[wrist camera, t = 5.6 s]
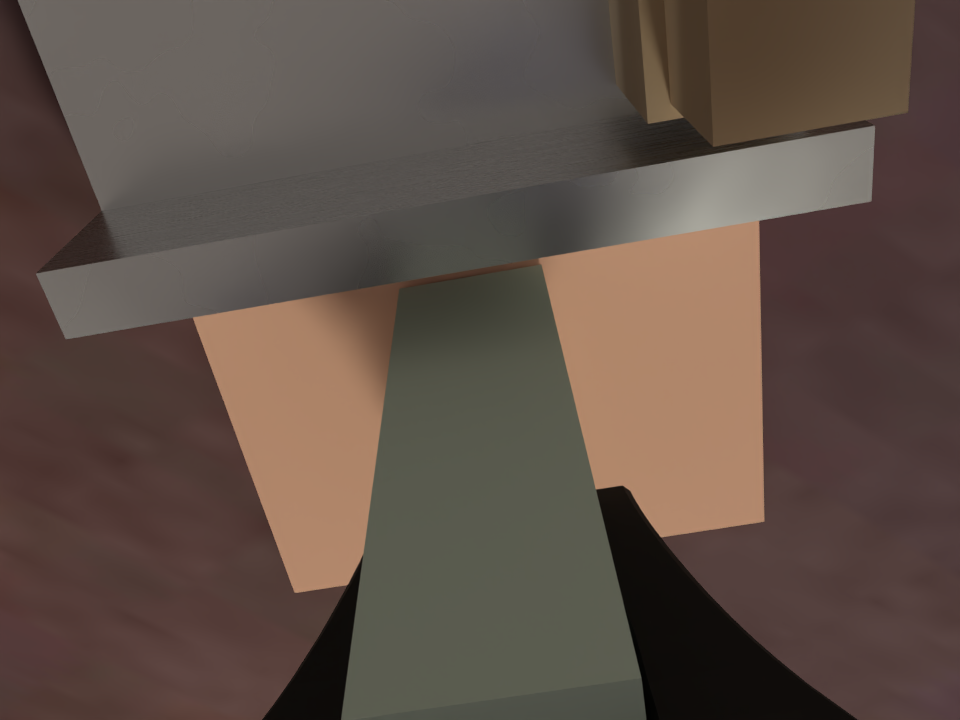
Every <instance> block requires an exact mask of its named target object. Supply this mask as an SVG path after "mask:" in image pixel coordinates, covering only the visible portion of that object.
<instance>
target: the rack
mask: <svg viewBox="0 0 960 720" xmlns="http://www.w3.org/2000/svg"><path fill="white" fill-rule="evenodd" d="M18 2H19V5H20V7H21V10H22V12H23V15H24V17H25V20H26V22H27V25H28V27H29V30H30V32H31V35H32V37H33V40H34V42H35V45H36V47H37V50H38V52H39V55H40V57H41V60H42V62H43V65H44V67H45V70H46V72H47V75H48V77H49V80H50V82H51V85H52V87H53V90H54V92H55V95H56V97H57V100H58V102H59V105H60V107H61V110H62V112H63V115H64V117H65V120H66V122H67V125H68V127H69V130H70V132H71V135H72V137H73V140H74V142H75V145H76V147H77V150H78V152H79V155H80V157H81V160H82V162H83V165H84V167H85V170H86V172H87V175H88V177H89V180H90V182H91V185H92V187H93V190H94V192H95V195H96V197H97V200H98V202H99V205H100V207H101V210H102V211H101V212H100V213H99V214H98V215H97V216H96V217H95V218H94V219H93V220H92V221H91V222H90V223H89V224H87V225H86V226H85V227H84V228H83V229H82V230H81V231H80V232H79V233H78V234H77V235H76V236H75V237H74V238H73V239H72V240H71V241H70V242H69V243H67V244H66V245H65V246H64V247H63V248H62V249H61V250H60V251H59V252H58V253H57V254H56V255H55V256H54V257H53V258H52V259H51V260H50V261H49V262H47V263H46V264H45V265H44V266H43V267H42V268H41V269H40V270H39V271H38V272H37V273H36V275H37V277H38V279H39V281H40V284H41V286H42V288H43V290H44V292H45V294H46V297H47V299H48V301H49V303H50V305H51V308H52V310H53V312H54V314H55V316H56V319H57V321H58V323H59V325H60V327H61V330H62V332H63V334H64V336H65V338H66V339H71V338H77V337H82V336H88V335H94V334H100V333H106V332H112V331H117V330H123V329H129V328H135V327H141V326H147V325H152V324H158V323H164V322H170V321H176V320H182V319H187V318H193V317H199V316H205V315H211V314H217V313H222V312H228V311H234V310H240V309H246V308H252V307H257V306H263V305H269V304H275V303H281V302H287V301H292V300H298V299H304V298H310V297H316V296H322V295H327V294H333V293H339V292H345V291H351V290H357V289H362V288H368V287H374V286H380V285H386V284H392V283H398V282H403V281H409V280H415V279H421V278H427V277H433V276H438V275H444V274H450V273H456V272H462V271H468V270H473V269H479V268H485V267H491V266H497V265H503V264H508V263H514V262H520V261H526V260H532V259H538V258H543V257H549V256H555V255H561V254H567V253H573V252H578V251H584V250H590V249H596V248H602V247H608V246H613V245H619V244H625V243H631V242H637V241H643V240H648V239H654V238H660V237H666V236H672V235H678V234H684V233H689V232H695V231H701V230H707V229H713V228H719V227H724V226H730V225H736V224H742V223H748V222H754V221H759V220H765V219H771V218H777V217H783V216H789V215H794V214H800V213H806V212H812V211H818V210H824V209H829V208H835V207H841V206H847V205H853V204H859V203H864V202H870V201H871V198H872V177H873V156H874V135H875V125H873V124H871V123H869V122H868V121H866V120H863V121H857V122H852V123H846V124H840V125H835V126H829V127H823V128H818V129H812V130H806V131H801V132H795V133H789V134H784V135H778V136H772V137H767V138H761V139H755V140H750V141H744V142H738V143H733V144H727V145H721V146H716V147H713V146H712V145H711V144H710V143H709V142H708V141H707V140H706V139H705V138H704V137H703V136H702V135H701V134H700V133H699V132H698V131H697V130H696V129H695V128H694V127H693V126H692V125H691V124H690V123H689V122H688V121H687V120H686V119H685V118H679V119H673V120H668V121H662V122H656V123H651V124H648V123H647V122H646V121H645V120H644V119H643V117H642V116H641V115H640V114H639V112H638V111H637V110H636V109H635V107H634V106H633V105H632V104H631V102H630V101H629V100H628V99H627V98H626V96H625V95H624V94H623V93H622V91H621V90H620V89H619V88H618V86H617V85H616V78H615V68H614V57H613V46H612V36H611V25H610V14H609V4H608V0H18Z"/></svg>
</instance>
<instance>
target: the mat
mask: <svg viewBox="0 0 960 720" xmlns="http://www.w3.org/2000/svg"><path fill="white" fill-rule="evenodd" d="M535 265H542V269H543V273H544V277H545V281H546V285H547V289H548V293H549V298H550V302H551V306H552V310H553V314H554V318H555V322H556V327H557V331H558V335H559V339H560V343H561V347H562V351H563V356H564V360H565V364H566V368H567V372H568V376H569V380H570V384H571V389H572V393H573V397H574V401H575V405H576V409H577V413H578V418H579V422H580V426H581V430H582V434H583V438H584V442H585V447H586V451H587V455H588V459H589V463H590V467H591V471H592V475H593V480H594V484H595V488H596V489H603V488H609V487H615V486H624V487H625V488H627V489H628V490H630V491H631V493H632V495H633V497H634V499H635V500H636V502H637V504H638V505H639V507H640V509H641V510H642V512H643V513H644V515H645V516H646V518H647V519H648V521H649V522H650V523H651V525H652V526H653V528H654V529H655V530H656V532H657V533H658V534H659V536H660V537H666V536H672V535H679V534H686V533H692V532H699V531H705V530H712V529H718V528H725V527H732V526H738V525H745V524H751V523H758V522H764V480H763V422H762V365H761V308H760V250H759V221H754V222H748V223H742V224H736V225H730V226H724V227H719V228H713V229H707V230H701V231H695V232H689V233H684V234H678V235H672V236H666V237H660V238H654V239H648V240H643V241H637V242H631V243H625V244H619V245H613V246H608V247H602V248H596V249H590V250H584V251H578V252H573V253H567V254H561V255H555V256H549V257H543V258H538V259H532V260H526V261H520V262H514V263H508V264H503V265H497V266H491V267H485V268H479V269H473V270H468V271H462V272H456V273H450V274H444V275H438V276H433V277H427V278H421V279H415V280H409V281H403V282H398V283H392V284H386V285H380V286H374V287H368V288H362V289H357V290H351V291H345V292H339V293H333V294H327V295H322V296H316V297H310V298H304V299H298V300H292V301H287V302H281V303H275V304H269V305H263V306H257V307H252V308H246V309H240V310H234V311H228V312H222V313H217V314H211V315H205V316H199V317H193V319H194V322H195V325H196V328H197V330H198V333H199V336H200V338H201V341H202V344H203V346H204V349H205V352H206V355H207V357H208V360H209V363H210V365H211V368H212V371H213V373H214V376H215V379H216V382H217V384H218V387H219V390H220V392H221V395H222V398H223V400H224V403H225V406H226V409H227V411H228V414H229V417H230V419H231V422H232V425H233V427H234V430H235V433H236V436H237V438H238V441H239V444H240V446H241V449H242V452H243V454H244V457H245V460H246V462H247V465H248V468H249V471H250V473H251V476H252V479H253V481H254V484H255V487H256V489H257V492H258V495H259V498H260V500H261V503H262V506H263V508H264V511H265V514H266V516H267V519H268V522H269V525H270V527H271V530H272V533H273V535H274V538H275V541H276V543H277V546H278V549H279V552H280V554H281V557H282V560H283V562H284V565H285V568H286V570H287V573H288V576H289V579H290V581H291V584H292V587H293V589H294V592H295V593H297V592H304V591H311V590H317V589H324V588H330V587H337V586H343V585H348V584H349V582H350V580H351V578H352V576H353V574H354V572H355V570H356V568H357V566H358V564H359V562H360V560H361V558H362V556H363V554H364V546H365V539H366V531H367V524H368V516H369V509H370V502H371V494H372V487H373V479H374V472H375V465H376V457H377V450H378V442H379V435H380V427H381V420H382V413H383V405H384V398H385V390H386V383H387V376H388V368H389V361H390V353H391V346H392V338H393V331H394V324H395V316H396V309H397V301H398V294H399V289H401V288H407V287H412V286H418V285H424V284H430V283H436V282H442V281H447V280H453V279H459V278H465V277H471V276H477V275H482V274H488V273H494V272H500V271H506V270H512V269H517V268H523V267H529V266H535Z"/></svg>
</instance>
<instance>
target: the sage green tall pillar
mask: <svg viewBox="0 0 960 720" xmlns="http://www.w3.org/2000/svg"><path fill="white" fill-rule="evenodd" d="M341 720H646V711H645V703H644V695H643V686H642V678H641V674H640V670H639V666H638V662H637V657H636V653H635V649H634V645H633V641H632V637H631V633H630V628H629V624H628V620H627V616H626V612H625V608H624V604H623V600H622V595H621V591H620V587H619V583H618V579H617V575H616V571H615V566H614V562H613V558H612V554H611V550H610V546H609V542H608V537H607V533H606V529H605V525H604V521H603V517H602V513H601V509H600V504H599V500H598V496H597V492H596V488H595V484H594V480H593V475H592V471H591V467H590V463H589V459H588V455H587V451H586V447H585V442H584V438H583V434H582V430H581V426H580V422H579V418H578V413H577V409H576V405H575V401H574V397H573V393H572V389H571V384H570V380H569V376H568V372H567V368H566V364H565V360H564V356H563V351H562V347H561V343H560V339H559V335H558V331H557V327H556V322H555V318H554V314H553V310H552V306H551V302H550V298H549V293H548V289H547V285H546V281H545V277H544V273H543V269H542V265H535V266H529V267H523V268H517V269H512V270H506V271H500V272H494V273H488V274H482V275H477V276H471V277H465V278H459V279H453V280H447V281H442V282H436V283H430V284H424V285H418V286H412V287H407V288H401V289H399V294H398V301H397V309H396V316H395V324H394V331H393V338H392V346H391V353H390V361H389V368H388V376H387V383H386V390H385V398H384V405H383V413H382V420H381V427H380V435H379V442H378V450H377V457H376V465H375V472H374V479H373V487H372V494H371V502H370V509H369V516H368V524H367V531H366V539H365V546H364V554H363V561H362V568H361V576H360V583H359V591H358V598H357V605H356V613H355V620H354V628H353V635H352V643H351V650H350V657H349V665H348V672H347V680H346V687H345V694H344V702H343V709H342V717H341Z"/></svg>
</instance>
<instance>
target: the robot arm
mask: <svg viewBox="0 0 960 720" xmlns="http://www.w3.org/2000/svg"><path fill="white" fill-rule="evenodd" d="M596 492H597V496H598V500H599V504H600V509H601V513H602V517H603V521H604V525H605V529H606V533H607V537H608V542H609V546H610V550H611V554H612V558H613V562H614V566H615V571H616V575H617V579H618V583H619V587H620V591H621V595H622V600H623V604H624V608H625V612H626V616H627V620H628V624H629V628H630V633H631V637H632V641H633V645H634V649H635V653H636V657H637V662H638V666H639V670H640V674H641V678H642V686H643V695H644V703H645V711H646V720H857V719H856V718H855V717H853V716H852V715H850V714H849V713H848V712H846V711H845V710H843V709H842V708H841V707H839V706H838V705H836V704H835V703H834V702H832V701H831V700H830V699H828V698H827V697H825V696H824V695H823V694H821V693H820V692H818V691H817V690H816V689H814V688H813V687H811V686H810V685H809V684H807V683H806V682H805V681H804V680H802V679H801V678H800V677H799V676H797V675H796V674H795V673H794V672H793V671H791V670H790V669H789V668H788V667H786V666H785V665H784V664H783V663H781V662H780V661H779V660H778V659H777V658H775V657H774V656H773V655H772V654H771V653H770V652H769V651H767V650H766V649H765V648H764V647H763V646H762V645H761V644H759V643H758V642H757V641H756V640H755V639H754V638H753V637H752V636H751V635H749V634H748V633H747V632H746V631H745V630H744V629H743V628H742V627H741V626H740V625H739V624H738V623H737V622H736V621H735V620H734V619H733V618H732V617H731V616H730V615H729V614H728V613H727V612H726V611H725V610H724V609H723V608H722V607H721V606H720V605H719V604H718V603H717V602H716V601H715V600H714V599H713V598H712V597H711V596H710V595H709V594H708V593H707V592H706V590H705V589H704V588H703V587H702V586H701V585H700V584H699V583H698V582H697V581H696V580H695V578H694V577H693V576H692V575H691V574H690V572H689V571H688V570H687V569H686V568H685V567H684V565H683V564H682V563H681V562H680V561H679V560H678V558H677V557H676V556H675V555H674V554H673V552H672V551H671V550H670V549H669V547H668V546H667V545H666V544H665V542H664V541H663V540H662V538H661V537H660V536H659V534H658V533H657V532H656V530H655V529H654V528H653V526H652V525H651V523H650V522H649V521H648V519H647V518H646V516H645V515H644V513H643V512H642V510H641V509H640V507H639V505H638V504H637V502H636V500H635V499H634V497H633V495H632V493H631V491H630V490H628V489H627V488H625V487H624V486H615V487H609V488H603V489H596ZM362 561H363V556H362V558H361V560H360V562H359V564H358V566H357V568H356V570H355V572H354V574H353V576H352V578H351V580H350V582H349V584H348V585H347V587H346V589H345V591H344V593H343V595H342V597H341V598H340V600H339V602H338V604H337V606H336V607H335V609H334V611H333V613H332V615H331V616H330V618H329V620H328V622H327V624H326V625H325V627H324V629H323V630H322V632H321V634H320V635H319V637H318V639H317V640H316V642H315V643H314V645H313V647H312V648H311V650H310V651H309V653H308V654H307V656H306V658H305V659H304V661H303V662H302V664H301V665H300V667H299V669H298V670H297V672H296V673H295V675H294V676H293V678H292V679H291V681H290V682H289V684H288V685H287V686H286V688H285V689H284V691H283V692H282V694H281V695H280V696H279V698H278V699H277V701H276V702H275V703H274V705H273V706H272V707H271V709H270V710H269V711H268V713H267V714H266V715H265V717H264V718H263V719H262V720H341V717H342V709H343V702H344V694H345V687H346V680H347V672H348V665H349V657H350V650H351V643H352V635H353V628H354V620H355V613H356V605H357V598H358V591H359V583H360V576H361V568H362Z"/></svg>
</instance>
